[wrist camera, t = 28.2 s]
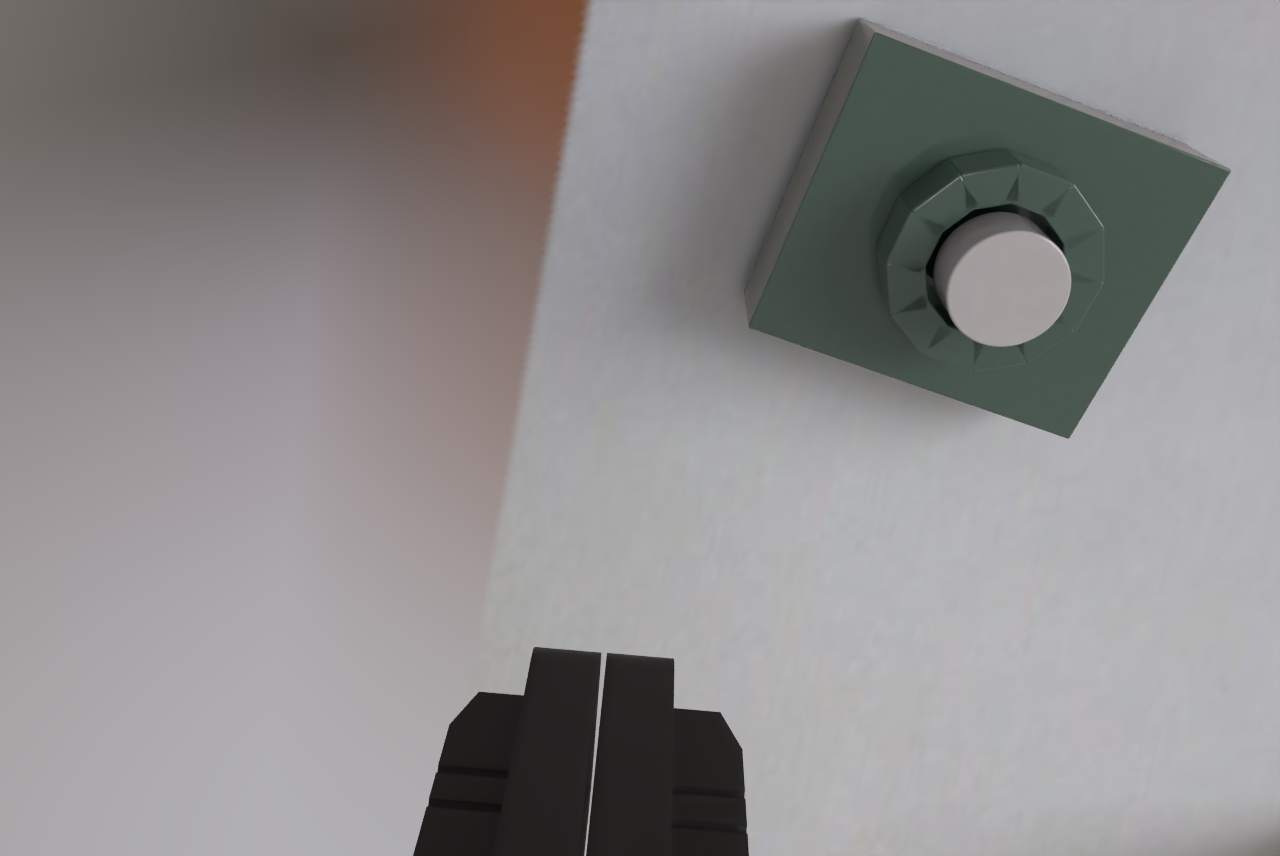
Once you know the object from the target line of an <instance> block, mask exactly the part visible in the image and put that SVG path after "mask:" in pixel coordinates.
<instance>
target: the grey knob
mask: <svg viewBox="0 0 1280 856" xmlns="http://www.w3.org/2000/svg"><path fill="white" fill-rule="evenodd" d="M933 279H934V286H935V289H936V293H937V295H938V297H939V299H940V301H941V302H942V304H943V306H944V308H945V309H946V311H947V313H948V314H949V316H950V318H951V320H952V321H953V323H954V324H955V326H956V327H957V328H958V329H959V330H960V332H962V333H963V334H964V335H965V336H966V337H968V338H970V339H971V340H973V341H975V342H978V343H980V344H984V345H988V346H994V347H1006V346H1013V345H1018V344H1021V343H1024V342H1027V341H1029V340H1032V339H1034V338H1036V337H1037V336H1039V335H1041V334H1042V333H1043V332H1045V331H1046V330H1047V329H1048V328H1049V327H1050V326H1051V325H1053V324H1054V322H1055V321H1056V320H1057V319H1058V318H1059V316H1060V315H1061V313H1062V312H1063V310H1064V308H1065V306H1066V304H1067V301H1068V298H1069V295H1070V290H1071V271H1070V267H1069V264H1068V261H1067V259H1066V257H1065V255H1064V254H1063V252H1062V251H1061V250H1060V249H1059V247H1058V246H1057V245H1056V244H1055V243H1054V242H1053V241H1052V240H1051V239H1050V238H1049V237H1048V236H1047V235H1046V234H1045V233H1044V232H1043V231H1042V230H1041V229H1040V228H1039V227H1038V226H1037V225H1036V224H1035V223H1034V222H1032V221H1031V220H1029V219H1028V218H1025V217H1023V216H1021V215H1018V214H1014V213H1008V212H993V213H987V214H982V215H980V216H977V217H974V218H972V219H970V220H968V221H966V222H965V223H963V224H962V225H960V226H959V227H958V228H956V229H955V230H954V231H953V232H952V233H951V234H950V235H949V236H948V237H947V239H946V240H945V241H944V243H943V244H942V246H941V248H940V250H939V252H938V254H937V257H936V260H935V264H934V271H933Z"/></svg>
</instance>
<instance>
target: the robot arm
mask: <svg viewBox="0 0 1280 856" xmlns="http://www.w3.org/2000/svg"><path fill="white" fill-rule="evenodd" d="M600 666H601V653H598V652H586V651H575V650H563V649H551V648H540V647H534V649H533V653H532V657H531V662H530V667H529V672H528V678H527V683H526V688H525V693H524V696H522V695H510V694H498V693H487V692H478V694H477V695H476V696H475V697H474V698H473V699H472V700H471V701H470V702H469V704H468V705H467V706H466V707H465V708H464V709H463V710H462V711H461V712H460V714H459V715H458V716H457V717H456V718H455V719H454V720H453V721H452V722H451V724H450V725H449V729H448V732H447V736H446V739H445V743H444V747H443V750H442V754H441V757H440V761H439V765H438V772H437V773H436V775H435V779H434V782H433V786H432V790H431V793H430V797H429V805H428V807H427V808H426V811H425V815H424V819H423V822H422V826H421V830H420V833H419V837H418V841H417V844H416V847H415V851H414V855H413V856H584V851H585V842H586V832H587V823H588V813H589V803H590V792H591V781H592V769H593V757H594V744H595V731H596V718H597V705H598V692H599V679H600ZM744 793H745V787H744V770H743V754H742V748H741V747H740V745H739V743H738V742H737V740H736V738H735V737H734V735H733V733H732V731H731V730H730V728H729V726H728V725H727V723H726V721H725V720H724V718H723V716H722V715H721V713H720V712H711V711H699V710H688V709H676V708H674V659H671V658H659V657H647V656H636V655H624V654H613V653H607V659H606V669H605V678H604V688H603V698H602V708H601V717H600V727H599V737H598V747H597V756H596V766H595V776H594V786H593V795H592V805H591V815H590V825H589V834H588V844H587V854H586V856H749V852H748V836H747V834H746V828H747V819H746V803H745V799H744Z"/></svg>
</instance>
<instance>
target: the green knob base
mask: <svg viewBox="0 0 1280 856" xmlns="http://www.w3.org/2000/svg"><path fill="white" fill-rule="evenodd" d="M1230 171H1231V170H1230V169H1229V168H1227V167H1225V166H1224V165H1222V164H1220V163H1218V162H1216V161H1215V160H1213V159H1211V158H1209V157H1207V156H1206V155H1204V154H1202V153H1200V152H1199V151H1197V150H1195V149H1193V148H1191V147H1190V146H1188V145H1186V144H1184V143H1181V142H1179V141H1176V140H1173V139H1171V138H1168V137H1166V136H1163V135H1161V134H1158V133H1155V132H1153V131H1150V130H1148V129H1145V128H1142V127H1140V126H1137V125H1135V124H1132V123H1130V122H1127V121H1124V120H1122V119H1119V118H1117V117H1114V116H1112V115H1109V114H1106V113H1104V112H1101V111H1099V110H1096V109H1094V108H1091V107H1088V106H1086V105H1083V104H1081V103H1078V102H1076V101H1073V100H1070V99H1068V98H1065V97H1063V96H1060V95H1058V94H1055V93H1052V92H1050V91H1047V90H1045V89H1042V88H1040V87H1037V86H1034V85H1032V84H1029V83H1027V82H1024V81H1021V80H1019V79H1016V78H1014V77H1011V76H1009V75H1006V74H1003V73H1001V72H998V71H996V70H993V69H991V68H988V67H985V66H983V65H980V64H978V63H975V62H973V61H970V60H967V59H965V58H962V57H960V56H957V55H955V54H952V53H949V52H947V51H944V50H942V49H939V48H937V47H934V46H931V45H929V44H926V43H924V42H921V41H918V40H916V39H913V38H911V37H908V36H906V35H903V34H900V33H898V32H895V31H893V30H890V29H888V28H885V27H882V26H880V25H877V24H875V23H872V22H870V21H867V20H864V19H862V18H859V19H858V21H857V24H856V26H855V28H854V31H853V33H852V35H851V38H850V40H849V43H848V45H847V47H846V50H845V52H844V54H843V57H842V59H841V62H840V64H839V66H838V69H837V71H836V73H835V76H834V78H833V81H832V83H831V85H830V88H829V90H828V93H827V95H826V97H825V100H824V102H823V104H822V107H821V109H820V112H819V114H818V116H817V119H816V121H815V123H814V126H813V128H812V131H811V133H810V135H809V138H808V140H807V142H806V145H805V147H804V150H803V152H802V154H801V157H800V159H799V162H798V164H797V166H796V169H795V171H794V173H793V176H792V178H791V181H790V183H789V185H788V188H787V190H786V192H785V195H784V197H783V200H782V202H781V204H780V207H779V209H778V211H777V214H776V216H775V219H774V221H773V223H772V226H771V228H770V231H769V233H768V235H767V238H766V240H765V242H764V245H763V247H762V250H761V252H760V254H759V257H758V259H757V261H756V264H755V266H754V269H753V271H752V273H751V276H750V278H749V280H748V283H747V285H746V288H745V290H744V295H745V303H746V311H747V319H748V326H749V328H752V329H754V330H757V331H760V332H763V333H766V334H769V335H772V336H775V337H777V338H780V339H783V340H786V341H789V342H792V343H795V344H798V345H800V346H803V347H806V348H809V349H812V350H815V351H818V352H821V353H823V354H826V355H829V356H832V357H835V358H838V359H841V360H844V361H846V362H849V363H852V364H855V365H858V366H861V367H864V368H866V369H869V370H872V371H875V372H878V373H881V374H884V375H887V376H889V377H892V378H895V379H898V380H901V381H904V382H907V383H910V384H912V385H915V386H918V387H921V388H924V389H927V390H930V391H933V392H935V393H938V394H941V395H944V396H947V397H950V398H953V399H956V400H958V401H961V402H964V403H967V404H970V405H973V406H976V407H979V408H981V409H984V410H987V411H990V412H993V413H996V414H999V415H1002V416H1004V417H1007V418H1010V419H1013V420H1016V421H1019V422H1022V423H1025V424H1027V425H1030V426H1033V427H1036V428H1039V429H1042V430H1045V431H1048V432H1050V433H1053V434H1056V435H1059V436H1062V437H1065V438H1070V436H1071V434H1072V433H1073V431H1074V429H1075V428H1076V426H1077V424H1078V423H1079V421H1080V420H1081V418H1082V416H1083V415H1084V413H1085V411H1086V410H1087V408H1088V406H1089V405H1090V403H1091V401H1092V400H1093V398H1094V396H1095V395H1096V393H1097V391H1098V390H1099V388H1100V386H1101V385H1102V383H1103V382H1104V380H1105V378H1106V377H1107V375H1108V373H1109V372H1110V370H1111V368H1112V367H1113V365H1114V363H1115V362H1116V360H1117V358H1118V357H1119V355H1120V353H1121V352H1122V350H1123V348H1124V347H1125V345H1126V344H1127V342H1128V340H1129V339H1130V337H1131V335H1132V334H1133V332H1134V330H1135V329H1136V327H1137V325H1138V324H1139V322H1140V320H1141V319H1142V317H1143V315H1144V314H1145V312H1146V310H1147V309H1148V307H1149V306H1150V304H1151V302H1152V301H1153V299H1154V297H1155V296H1156V294H1157V292H1158V291H1159V289H1160V287H1161V286H1162V284H1163V282H1164V281H1165V279H1166V277H1167V276H1168V274H1169V272H1170V271H1171V269H1172V268H1173V266H1174V264H1175V263H1176V261H1177V259H1178V258H1179V256H1180V254H1181V253H1182V251H1183V249H1184V248H1185V246H1186V244H1187V243H1188V241H1189V239H1190V238H1191V236H1192V234H1193V233H1194V231H1195V230H1196V228H1197V226H1198V225H1199V223H1200V221H1201V220H1202V218H1203V216H1204V215H1205V213H1206V211H1207V210H1208V208H1209V206H1210V205H1211V203H1212V201H1213V200H1214V198H1215V196H1216V195H1217V193H1218V192H1219V190H1220V188H1221V187H1222V185H1223V183H1224V182H1225V180H1226V178H1227V177H1228V175H1229V173H1230ZM993 212H1008V213H1014V214H1018V215H1021V216H1023V217H1025V218H1028V219H1029V220H1031V221H1032V222H1034V223H1035V224H1036V225H1037V226H1038V227H1039V228H1040V229H1041V230H1042V231H1043V232H1044V233H1045V234H1046V235H1047V236H1048V237H1049V238H1050V239H1051V240H1052V241H1053V242H1054V243H1055V244H1056V245H1057V246H1058V247H1059V249H1060V250H1061V251H1062V252H1063V254H1064V255H1065V257H1066V259H1067V261H1068V264H1069V267H1070V271H1071V290H1070V295H1069V298H1068V301H1067V304H1066V306H1065V308H1064V310H1063V312H1062V313H1061V315H1060V316H1059V318H1058V319H1057V320H1056V321H1055V322H1054V324H1053V325H1051V326H1050V327H1049V328H1048V329H1047V330H1046V331H1045V332H1043V333H1042V334H1041V335H1039V336H1037V337H1036V338H1034V339H1032V340H1029V341H1027V342H1024V343H1021V344H1018V345H1013V346H1006V347H994V346H988V345H984V344H980V343H978V342H975V341H973V340H971V339H970V338H968V337H966V336H965V335H964V334H963V333H962V332H960V330H959V329H958V328H957V327H956V326H955V324H954V323H953V321H952V320H951V318H950V316H949V314H948V313H947V311H946V309H945V308H944V306H943V304H942V302H941V301H940V299H939V297H938V295H937V293H936V289H935V286H934V279H933V271H934V264H935V260H936V257H937V254H938V252H939V250H940V248H941V246H942V244H943V243H944V241H945V240H946V239H947V237H948V236H949V235H950V234H951V233H952V232H953V231H954V230H955V229H956V228H958V227H959V226H960V225H962V224H963V223H965V222H966V221H968V220H970V219H972V218H974V217H977V216H980V215H982V214H987V213H993Z"/></svg>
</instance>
